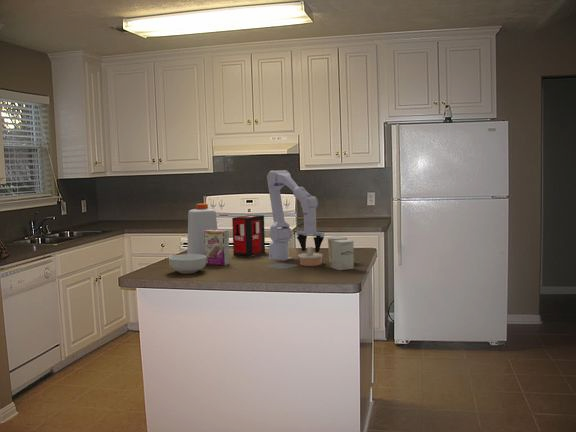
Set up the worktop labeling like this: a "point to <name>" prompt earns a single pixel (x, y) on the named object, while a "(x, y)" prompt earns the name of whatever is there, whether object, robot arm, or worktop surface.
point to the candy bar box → (216, 247)
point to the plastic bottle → (199, 227)
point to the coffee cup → (331, 244)
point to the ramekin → (310, 261)
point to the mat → (281, 265)
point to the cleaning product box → (248, 235)
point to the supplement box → (342, 254)
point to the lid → (310, 254)
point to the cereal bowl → (187, 263)
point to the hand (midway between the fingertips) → (310, 251)
